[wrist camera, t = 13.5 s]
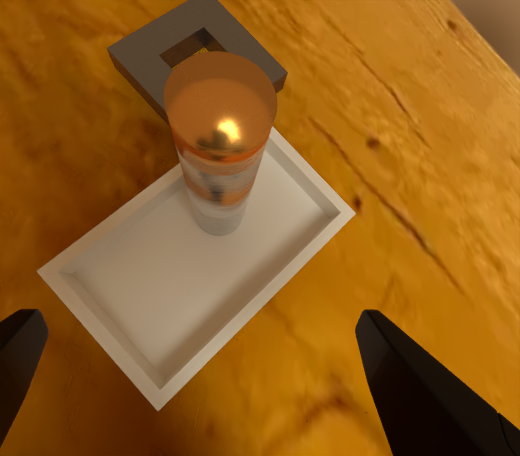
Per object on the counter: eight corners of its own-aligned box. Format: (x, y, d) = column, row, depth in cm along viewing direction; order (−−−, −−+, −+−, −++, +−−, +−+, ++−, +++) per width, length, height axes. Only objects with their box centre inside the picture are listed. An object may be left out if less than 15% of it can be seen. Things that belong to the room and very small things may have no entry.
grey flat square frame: (282, 88, 26) (287, 72, 24) (196, 154, 24) (194, 142, 22) (207, 11, 27) (206, -11, 25) (115, 67, 24) (106, 48, 22)
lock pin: (252, 215, 22) (299, 108, 10) (216, 245, 21) (215, 172, 9) (221, 180, 22) (227, 33, 10) (184, 209, 22) (138, 87, 9)
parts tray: (339, 222, 24) (355, 213, 21) (166, 393, 20) (157, 411, 17) (249, 128, 25) (253, 106, 22) (61, 274, 20) (36, 271, 17)
